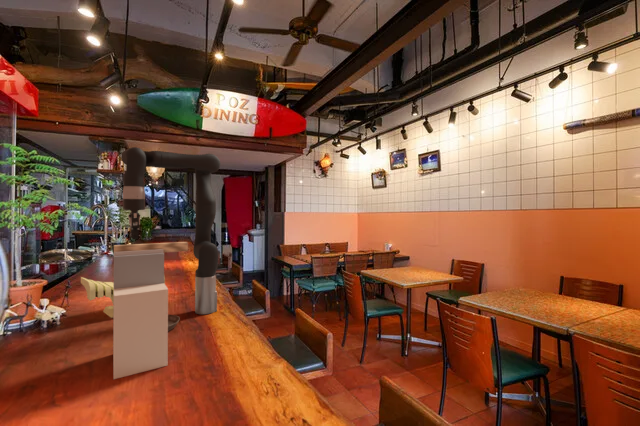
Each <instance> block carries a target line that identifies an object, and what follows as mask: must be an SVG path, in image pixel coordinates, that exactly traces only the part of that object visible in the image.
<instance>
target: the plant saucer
mask: <svg viewBox="0 0 640 426" xmlns="http://www.w3.org/2000/svg"><path fill="white" fill-rule="evenodd" d="M180 318H181V317H180V316H178V315H176V314H168V332H169V331H171V330H173V329H174V328H175V327H176V326H177V325H178V323H179V321H180V320H181V319H180Z"/></svg>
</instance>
